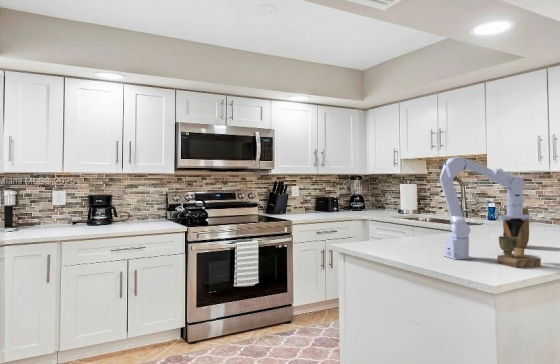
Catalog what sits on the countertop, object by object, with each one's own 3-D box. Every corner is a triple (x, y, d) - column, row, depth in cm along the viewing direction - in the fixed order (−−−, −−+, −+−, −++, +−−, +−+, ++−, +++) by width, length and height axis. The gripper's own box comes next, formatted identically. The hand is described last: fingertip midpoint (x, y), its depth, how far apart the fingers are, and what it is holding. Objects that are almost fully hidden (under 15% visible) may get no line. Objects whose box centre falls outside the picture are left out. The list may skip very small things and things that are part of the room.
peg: (519, 265, 150) (519, 249, 150) (511, 263, 154) (511, 247, 153) (526, 265, 151) (526, 249, 151) (518, 263, 155) (518, 247, 155)
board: (516, 267, 146) (516, 260, 146) (497, 262, 155) (497, 255, 155) (540, 266, 150) (540, 258, 149) (520, 261, 158) (521, 254, 158)
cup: (499, 252, 177) (500, 235, 177) (518, 254, 172) (518, 236, 172) (496, 254, 171) (497, 237, 171) (515, 256, 167) (516, 238, 166)
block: (530, 247, 188) (531, 207, 188) (520, 249, 185) (521, 208, 185) (509, 244, 198) (510, 206, 198) (500, 245, 195) (500, 206, 194)
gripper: (508, 206, 154) (508, 239, 154) (536, 205, 158) (536, 237, 158) (494, 204, 161) (494, 236, 161) (522, 204, 165) (521, 235, 165)
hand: (514, 236), depth 160 cm, fingers closed
